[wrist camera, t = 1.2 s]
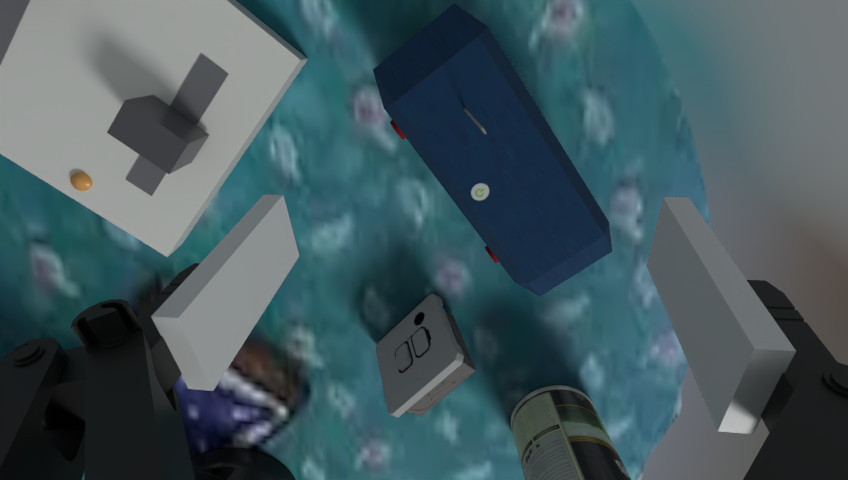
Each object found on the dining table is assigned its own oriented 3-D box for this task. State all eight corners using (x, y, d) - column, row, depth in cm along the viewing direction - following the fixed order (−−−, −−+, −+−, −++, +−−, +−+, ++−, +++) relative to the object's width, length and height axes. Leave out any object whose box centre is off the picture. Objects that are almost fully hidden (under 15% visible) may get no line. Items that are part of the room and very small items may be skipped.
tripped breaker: (191, 162, 39) (168, 174, 35) (136, 124, 38) (106, 132, 34) (209, 134, 38) (188, 143, 35) (153, 94, 37) (125, 99, 33)
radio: (369, 74, 40) (334, 96, 22) (451, 7, 38) (490, -31, 20) (500, 250, 47) (558, 382, 28) (575, 200, 45) (690, 306, 27)
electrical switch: (433, 288, 48) (445, 346, 40) (467, 314, 50) (485, 375, 42) (374, 343, 51) (374, 408, 42) (408, 366, 53) (414, 433, 44)
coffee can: (590, 375, 53) (649, 482, 40) (598, 441, 57) (653, 557, 44) (502, 393, 54) (532, 503, 41) (515, 457, 58) (546, 576, 45)
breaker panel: (181, 244, 46) (165, 258, 42) (-76, 81, 39) (-117, 84, 36) (308, 59, 39) (299, 60, 36) (27, -170, 33) (-12, -192, 30)
